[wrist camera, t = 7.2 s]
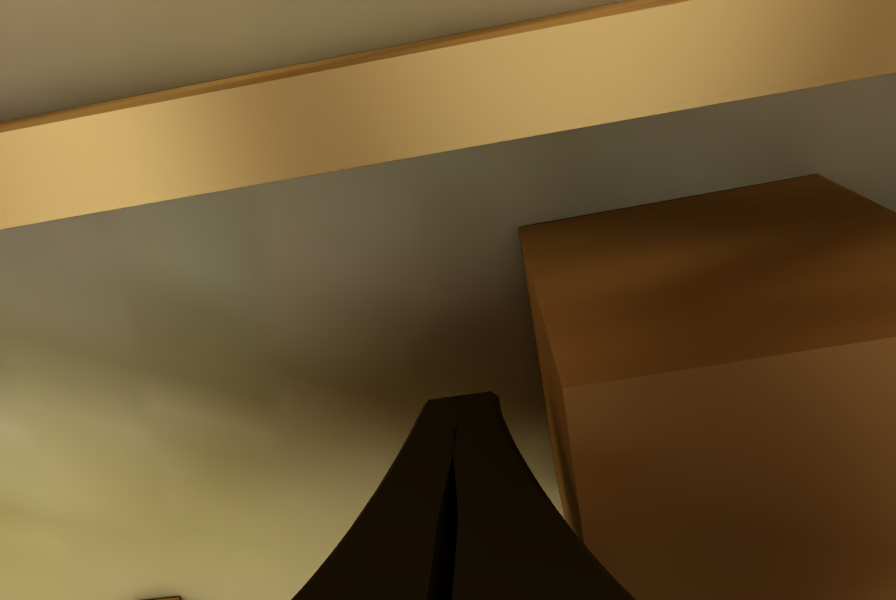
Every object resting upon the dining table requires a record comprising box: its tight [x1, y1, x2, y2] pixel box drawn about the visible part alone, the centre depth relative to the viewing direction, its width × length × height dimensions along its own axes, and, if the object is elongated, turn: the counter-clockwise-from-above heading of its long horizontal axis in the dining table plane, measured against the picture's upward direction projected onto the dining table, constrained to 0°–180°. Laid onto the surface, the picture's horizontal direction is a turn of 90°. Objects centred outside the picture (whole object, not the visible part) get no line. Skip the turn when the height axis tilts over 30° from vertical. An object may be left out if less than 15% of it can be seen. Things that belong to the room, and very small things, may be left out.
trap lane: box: [0, 0, 896, 600], centre depth 12 cm, size 18×20×3 cm
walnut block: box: [518, 174, 896, 600], centre depth 10 cm, size 5×6×5 cm
